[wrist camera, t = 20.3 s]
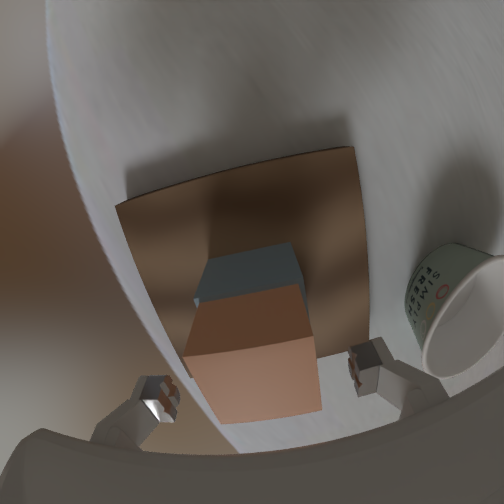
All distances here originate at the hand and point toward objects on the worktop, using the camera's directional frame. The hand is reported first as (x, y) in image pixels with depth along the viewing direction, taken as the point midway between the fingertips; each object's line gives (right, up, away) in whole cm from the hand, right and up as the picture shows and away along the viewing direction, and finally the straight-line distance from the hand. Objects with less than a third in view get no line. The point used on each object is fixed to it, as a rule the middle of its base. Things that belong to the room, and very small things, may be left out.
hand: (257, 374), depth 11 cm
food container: (+18, +2, +10) cm, 21 cm away
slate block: (0, +3, +8) cm, 8 cm away
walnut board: (0, +4, +10) cm, 10 cm away
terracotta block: (0, +1, +3) cm, 3 cm away
